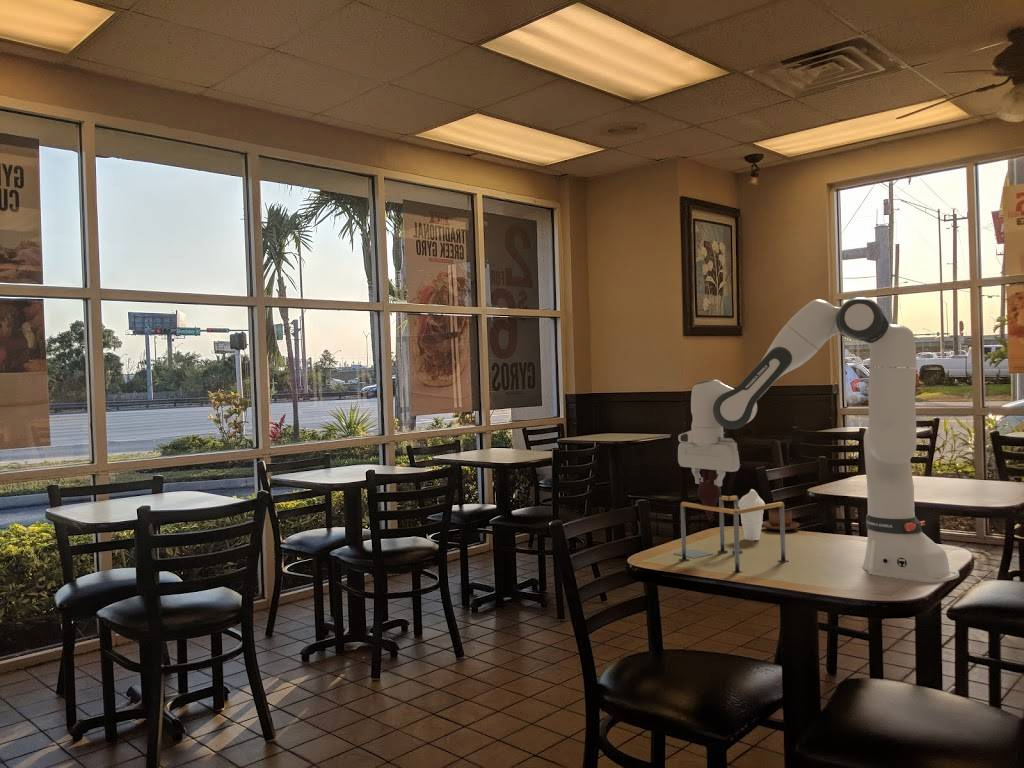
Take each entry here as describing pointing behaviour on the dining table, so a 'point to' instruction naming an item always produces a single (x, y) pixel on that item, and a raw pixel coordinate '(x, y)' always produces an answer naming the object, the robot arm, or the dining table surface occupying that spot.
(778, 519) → the cup and saucer
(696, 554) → the mat
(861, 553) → the dining table surface
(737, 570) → the wire frame
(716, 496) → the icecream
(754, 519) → the soft serve ice cream cone
